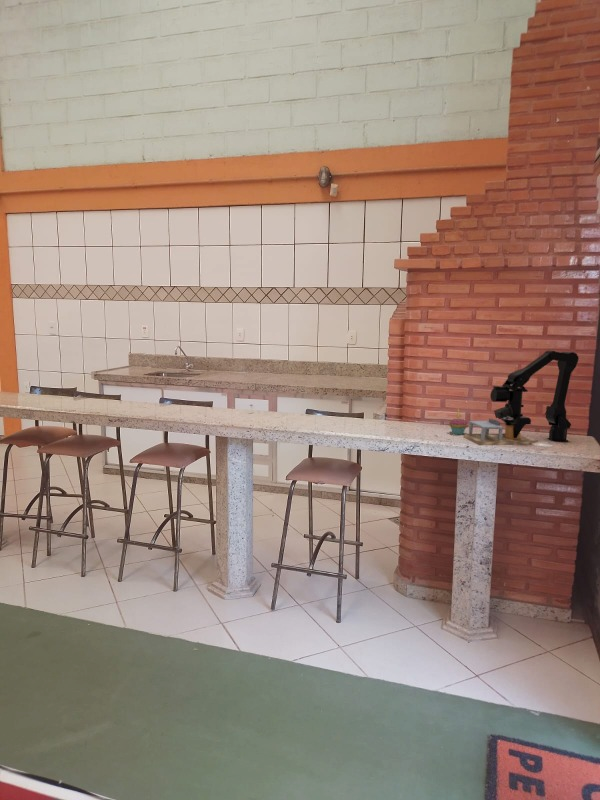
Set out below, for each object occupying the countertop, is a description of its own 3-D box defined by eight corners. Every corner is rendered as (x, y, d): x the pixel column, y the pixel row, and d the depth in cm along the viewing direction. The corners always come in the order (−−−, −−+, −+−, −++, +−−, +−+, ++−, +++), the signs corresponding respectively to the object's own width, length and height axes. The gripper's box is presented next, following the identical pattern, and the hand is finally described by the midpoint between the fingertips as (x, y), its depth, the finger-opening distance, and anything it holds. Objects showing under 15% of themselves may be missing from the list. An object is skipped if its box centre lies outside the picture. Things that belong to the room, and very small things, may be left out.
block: (514, 439, 255) (515, 425, 254) (519, 441, 251) (520, 427, 250) (504, 439, 255) (505, 425, 254) (509, 441, 250) (510, 427, 249)
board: (519, 437, 262) (519, 433, 261) (538, 444, 246) (539, 440, 246) (463, 437, 258) (463, 433, 258) (479, 445, 242) (479, 441, 242)
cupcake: (446, 432, 270) (447, 406, 268) (463, 432, 270) (465, 407, 269) (452, 435, 261) (453, 409, 259) (470, 435, 262) (472, 410, 260)
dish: (545, 442, 250) (546, 441, 250) (557, 447, 241) (558, 445, 241) (526, 443, 249) (526, 441, 249) (538, 447, 240) (538, 446, 240)
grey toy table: (487, 433, 258) (488, 417, 257) (502, 440, 244) (503, 423, 243) (468, 434, 257) (469, 417, 256) (482, 440, 243) (483, 423, 242)
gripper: (487, 398, 258) (485, 432, 260) (508, 405, 240) (505, 441, 242) (510, 398, 260) (508, 432, 262) (533, 405, 241) (530, 441, 244)
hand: (512, 436), depth 252 cm, fingers open, 5 cm apart
